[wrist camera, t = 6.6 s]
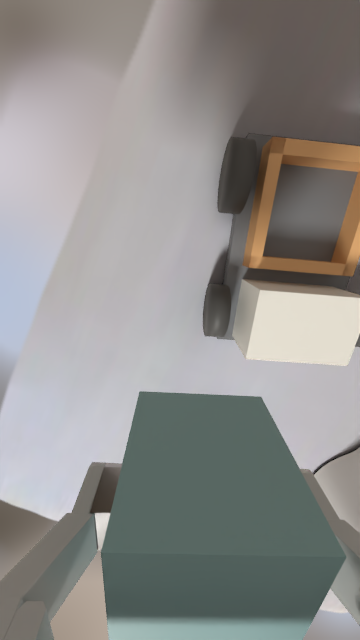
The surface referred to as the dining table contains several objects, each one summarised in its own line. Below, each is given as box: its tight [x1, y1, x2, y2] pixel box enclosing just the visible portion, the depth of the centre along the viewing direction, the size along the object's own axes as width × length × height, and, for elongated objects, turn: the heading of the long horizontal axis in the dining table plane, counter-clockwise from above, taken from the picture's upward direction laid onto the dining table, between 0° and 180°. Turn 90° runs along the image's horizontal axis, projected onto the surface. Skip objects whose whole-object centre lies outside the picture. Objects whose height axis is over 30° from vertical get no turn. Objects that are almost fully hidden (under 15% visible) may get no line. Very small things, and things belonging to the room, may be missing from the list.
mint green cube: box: [101, 392, 347, 640], centre depth 8 cm, size 5×5×5 cm
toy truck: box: [203, 133, 360, 366], centre depth 19 cm, size 15×18×6 cm
